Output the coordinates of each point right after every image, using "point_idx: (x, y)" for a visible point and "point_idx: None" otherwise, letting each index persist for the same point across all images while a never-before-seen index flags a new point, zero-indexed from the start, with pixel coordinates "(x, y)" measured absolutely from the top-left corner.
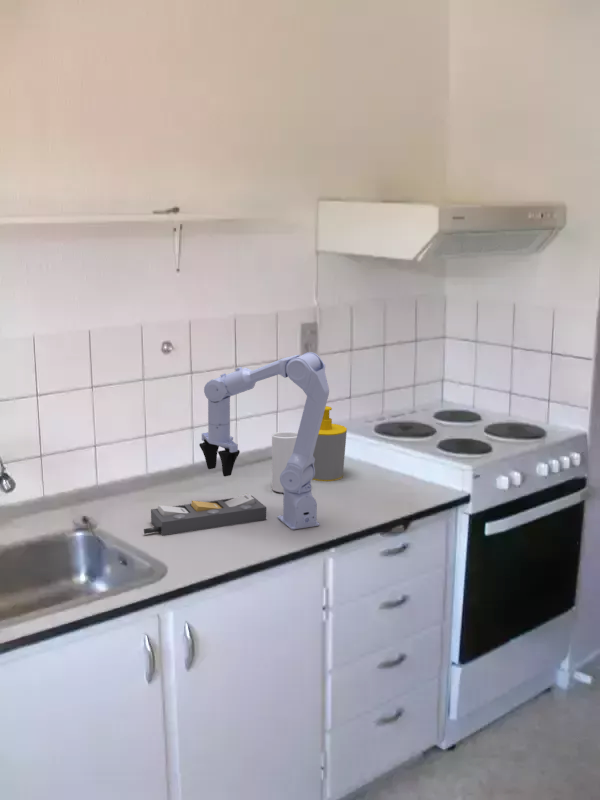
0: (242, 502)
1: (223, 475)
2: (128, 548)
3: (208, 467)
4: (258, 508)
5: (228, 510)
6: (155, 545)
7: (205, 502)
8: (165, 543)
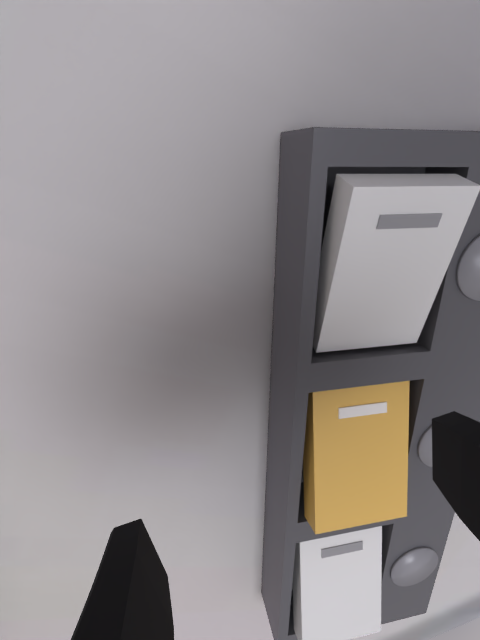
0: (439, 267)
1: (437, 483)
2: (426, 631)
3: (166, 603)
4: None
5: (468, 368)
6: (450, 578)
7: (321, 460)
8: (454, 555)
